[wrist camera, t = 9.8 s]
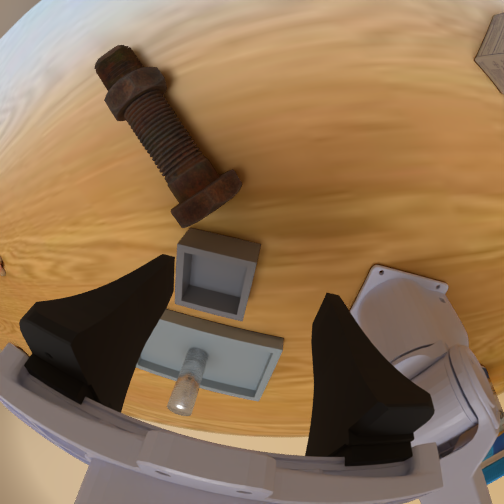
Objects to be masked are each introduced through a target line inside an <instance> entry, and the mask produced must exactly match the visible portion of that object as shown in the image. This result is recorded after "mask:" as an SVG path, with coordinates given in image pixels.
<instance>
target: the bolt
mask: <svg viewBox="0 0 504 504" xmlns="http://www.w3.org/2000/svg"><path fill="white" fill-rule="evenodd" d="M95 69H96V73H97V74H98V76H99V77H100V79H101V80H102V82H103V84H104V85H105V87H106V88H107V90H108V93H107V95H106V97H105V100H104V101H105V102H106V104H107V105H108V107H109V109H110V110H111V112H112V114H113V115H114V117H115V118H116V120H117V121H125V120H126V121H127V122H128V124H129V125H130V126H131V129H133V132H135V134H136V136H138V139H140V143H142V145H143V146H144V147H145V150H148V151H147V153H149V154H150V157H153V158H152V160H153V161H155V165H158V166H157V168H158V169H160V172H163V174H162V176H165V180H166V182H167V183H168V187H169V188H170V190H171V191H172V193H173V194H174V196H175V197H176V199H177V200H178V202H179V204H178V205H177V206H175V207H174V208H173V209H171V213H172V215H173V216H174V217H175V219H176V220H177V222H178V223H179V224H180V226H181V227H182V228H185V227H188V226H190V225H192V224H194V223H196V222H198V221H200V220H202V219H203V218H205V217H206V216H207V215H209V214H210V213H212V212H213V211H215V210H216V209H218V208H219V207H221V206H222V205H223V204H225V203H226V202H227V201H229V200H230V199H232V198H233V197H234V196H235V195H236V194H237V193H238V192H239V190H240V188H241V186H242V182H241V181H240V179H239V178H238V176H237V174H236V173H235V171H234V170H233V169H232V170H230V171H228V172H225V173H224V174H222V175H220V176H219V175H218V174H217V172H216V171H215V169H214V168H213V166H212V165H211V163H210V162H209V160H208V159H207V158H205V157H204V155H202V154H201V153H202V152H201V151H198V150H199V148H195V147H196V144H193V142H194V140H191V136H188V135H189V133H188V132H186V131H187V130H186V129H185V128H184V126H183V125H181V124H182V123H181V122H180V121H179V118H176V117H177V115H176V114H174V111H172V108H171V107H170V105H169V104H167V101H165V98H164V97H163V95H164V93H165V91H166V88H167V87H166V82H165V79H164V77H163V75H162V74H161V72H160V71H159V70H158V68H156V67H143V66H142V64H141V63H140V61H139V60H138V58H137V57H136V55H135V54H134V53H133V51H132V50H131V48H130V47H129V48H128V46H124V45H118V46H116V47H114V48H113V49H111V50H110V51H108V52H107V53H106V54H104V55H103V56H102V57H100V58H99V59H98V60H97V62H96V64H95Z"/></svg>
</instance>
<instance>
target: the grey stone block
mask: <svg viewBox="0 0 504 504" xmlns="http://www.w3.org/2000/svg"><path fill="white" fill-rule="evenodd" d="M475 61H476V62H477V64H478V65H479V66H480V67H481V68H482V69H483V70H484V72H485V73H486V74H487V75H488V76H489V77H490V79H491V80H492V81H493V82H494V84H495V85H496V86H497V87H498V89H499V90H500V91H501V93H502V94H504V13H500V14H497V15H494V16H493V19H492V22H491V24H490V27H489V29H488V32H487V34H486V36H485V39H484V41H483V43H482V45H481V48H480V50H479V52H478V54H477V56H476V58H475Z"/></svg>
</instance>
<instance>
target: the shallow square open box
mask: <svg viewBox="0 0 504 504" xmlns="http://www.w3.org/2000/svg"><path fill="white" fill-rule="evenodd" d="M260 246H261V244H258V243H253V242H249V241H245V240H241V239H236V238H232V237H228V236H224V235H219V234H215V233H211V232H206V231H202V230H198V229H193V228H189V230H188V231H187V232H186V233H185V235H184V236H183V237H182V239H181V240H180V241H179V243H178V244H177V261H176V284H175V304H178V305H181V306H185V307H188V308H192V309H195V310H199V311H203V312H207V313H211V314H214V315H218V316H222V317H226V318H230V319H234V320H239V321H243V317H244V313H245V309H246V305H247V301H248V297H249V293H250V289H251V285H252V281H253V277H254V273H255V268H256V264H257V260H258V255H259V251H260Z"/></svg>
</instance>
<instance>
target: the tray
mask: <svg viewBox="0 0 504 504" xmlns="http://www.w3.org/2000/svg"><path fill="white" fill-rule="evenodd" d="M193 347H196V348H200V349H203V350H204V351H206V352H207V353H208V355H209V358H208V361H207V365H206V368H205V371H204V374H203V378H202V381H201V384H200V387H199V388H202V389H206V390H210V391H214V392H218V393H222V394H226V395H230V396H235V397H239V398H244V399H249V400H254V401H259V400H260V398H261V396H262V394H263V392H264V390H265V387H266V385H267V383H268V381H269V379H270V377H271V375H272V373H273V370H274V368H275V366H276V364H277V362H278V359H279V357H280V355H281V353H282V351H283V338H280V337H275V336H270V335H266V334H261V333H257V332H252V331H248V330H244V329H239V328H235V327H231V326H227V325H223V324H219V323H215V322H211V321H207V320H204V319H200V318H196V317H193V316H189V315H185V314H182V313H178V312H175V311H171V310H168V309H165V311H164V313H163V315H162V316H161V318H160V320H159V322H158V323H157V325H156V327H155V328H154V330H153V332H152V333H151V335H150V337H149V339H148V340H147V342H146V344H145V346H144V348H143V350H142V353H141V355H140V358H139V360H138V362H137V365H136V367H137V368H139V369H142V370H145V371H148V372H150V373H153V374H156V375H159V376H162V377H165V378H168V379H171V380H175V381H177V378H178V375H179V373H180V370H181V368H182V365H183V362H184V360H185V357H186V354H187V352H188V350H189V349H190V348H193Z"/></svg>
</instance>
